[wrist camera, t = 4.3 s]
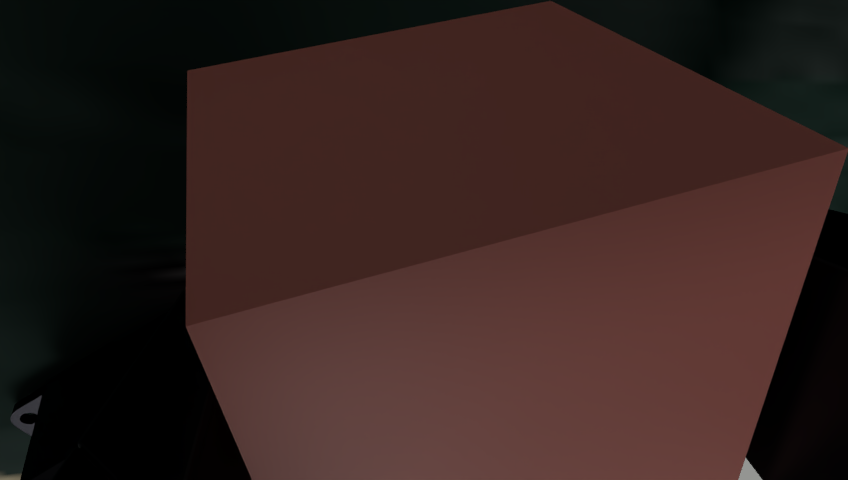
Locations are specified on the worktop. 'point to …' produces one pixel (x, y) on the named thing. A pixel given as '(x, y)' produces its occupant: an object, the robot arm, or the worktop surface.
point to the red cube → (493, 254)
